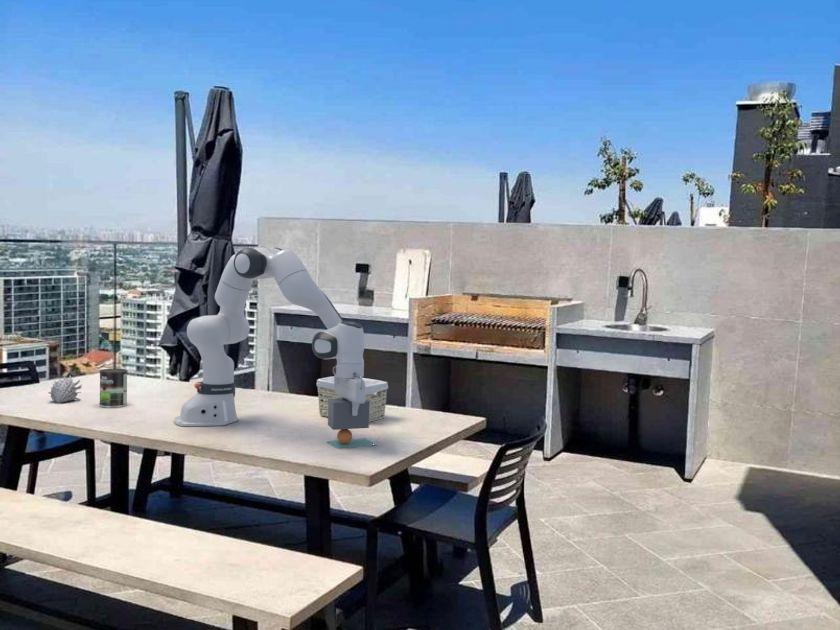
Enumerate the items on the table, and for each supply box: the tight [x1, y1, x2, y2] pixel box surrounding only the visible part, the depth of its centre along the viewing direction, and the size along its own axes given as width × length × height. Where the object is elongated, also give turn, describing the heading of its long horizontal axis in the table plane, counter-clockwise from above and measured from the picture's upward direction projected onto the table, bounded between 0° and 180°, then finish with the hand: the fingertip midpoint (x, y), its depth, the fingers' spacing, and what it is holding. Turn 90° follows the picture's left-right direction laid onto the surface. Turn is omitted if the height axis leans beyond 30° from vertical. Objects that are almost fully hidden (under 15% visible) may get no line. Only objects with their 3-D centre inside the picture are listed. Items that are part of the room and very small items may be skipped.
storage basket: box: [316, 376, 389, 423], centre depth 299 cm, size 24×16×15 cm
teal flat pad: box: [326, 437, 378, 449], centre depth 257 cm, size 14×10×1 cm
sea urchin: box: [47, 375, 83, 404], centre depth 314 cm, size 12×11×12 cm
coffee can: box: [99, 368, 128, 409], centre depth 309 cm, size 10×10×14 cm
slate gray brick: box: [327, 398, 370, 431], centre depth 256 cm, size 12×7×9 cm, turn 111°
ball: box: [336, 429, 353, 444], centre depth 256 cm, size 5×5×5 cm
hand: (349, 412), depth 256 cm, fingers closed on slate gray brick, 7 cm apart
